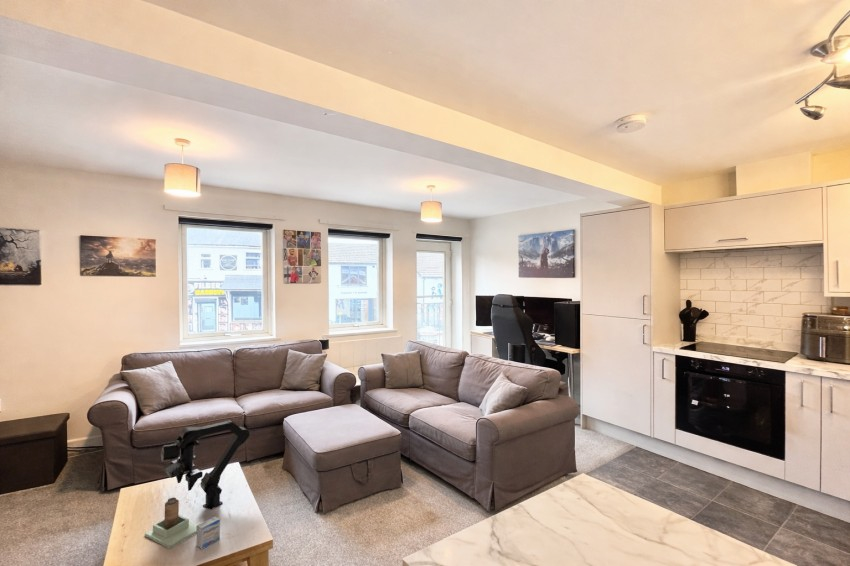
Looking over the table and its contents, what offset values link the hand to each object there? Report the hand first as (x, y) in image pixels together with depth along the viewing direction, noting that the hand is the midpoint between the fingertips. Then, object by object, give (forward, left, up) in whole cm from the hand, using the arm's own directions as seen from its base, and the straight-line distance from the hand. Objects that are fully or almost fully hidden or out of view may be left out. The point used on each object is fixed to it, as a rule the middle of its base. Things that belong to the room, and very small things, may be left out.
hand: (184, 486), depth 189 cm
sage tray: (-11, +11, -13) cm, 20 cm away
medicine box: (-30, +8, -13) cm, 34 cm away
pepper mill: (-9, +11, -11) cm, 18 cm away
